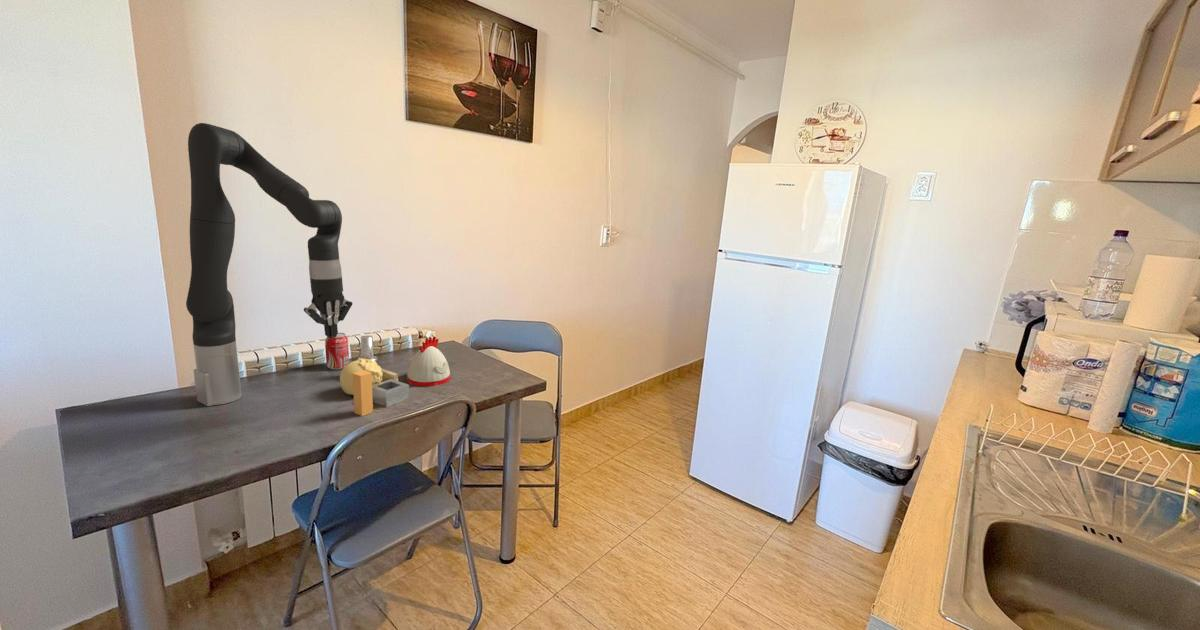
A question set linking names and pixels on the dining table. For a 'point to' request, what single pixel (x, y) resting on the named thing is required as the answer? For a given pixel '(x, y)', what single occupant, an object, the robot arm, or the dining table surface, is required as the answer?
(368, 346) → the ringlock post
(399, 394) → the grey open-top box
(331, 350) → the soda can
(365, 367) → the sculpture
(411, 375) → the kitchen timer
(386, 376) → the brown wooden plank
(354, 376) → the orange rectangular block
